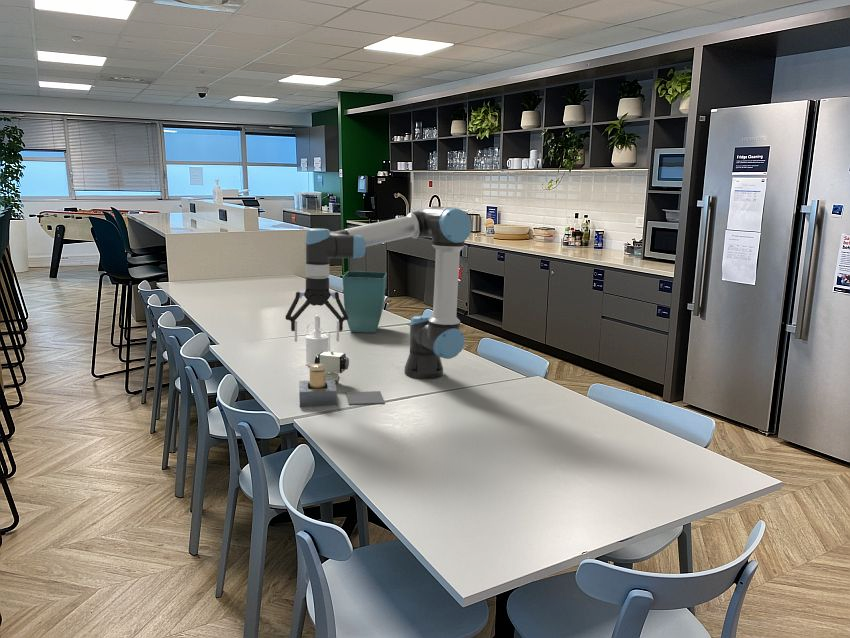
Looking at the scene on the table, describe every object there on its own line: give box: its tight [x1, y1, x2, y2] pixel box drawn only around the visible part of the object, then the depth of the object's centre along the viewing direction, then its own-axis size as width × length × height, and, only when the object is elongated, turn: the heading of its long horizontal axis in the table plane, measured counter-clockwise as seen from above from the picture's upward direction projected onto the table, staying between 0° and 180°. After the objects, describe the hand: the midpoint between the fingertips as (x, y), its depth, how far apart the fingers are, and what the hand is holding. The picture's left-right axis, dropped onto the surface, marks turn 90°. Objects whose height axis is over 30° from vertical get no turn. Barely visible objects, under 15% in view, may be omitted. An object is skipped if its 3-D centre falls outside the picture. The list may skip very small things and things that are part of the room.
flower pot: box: [342, 270, 388, 334], centre depth 314 cm, size 20×20×28 cm
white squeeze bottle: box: [304, 315, 331, 367], centre depth 253 cm, size 10×9×20 cm
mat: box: [345, 390, 386, 406], centre depth 216 cm, size 12×12×1 cm
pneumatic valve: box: [315, 350, 350, 384], centre depth 231 cm, size 6×12×12 cm, turn 78°
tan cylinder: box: [309, 364, 327, 389], centre depth 212 cm, size 5×5×12 cm
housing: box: [298, 380, 338, 408], centre depth 212 cm, size 12×12×5 cm
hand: (316, 340), depth 208 cm, fingers open, 13 cm apart
